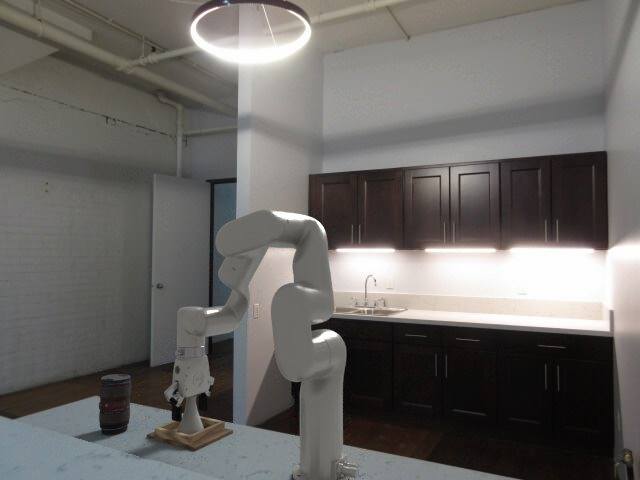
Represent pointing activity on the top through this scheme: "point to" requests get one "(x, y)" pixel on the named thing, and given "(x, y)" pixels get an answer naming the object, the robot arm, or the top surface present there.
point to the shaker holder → (194, 441)
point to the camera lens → (114, 403)
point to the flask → (190, 418)
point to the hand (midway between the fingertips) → (190, 415)
